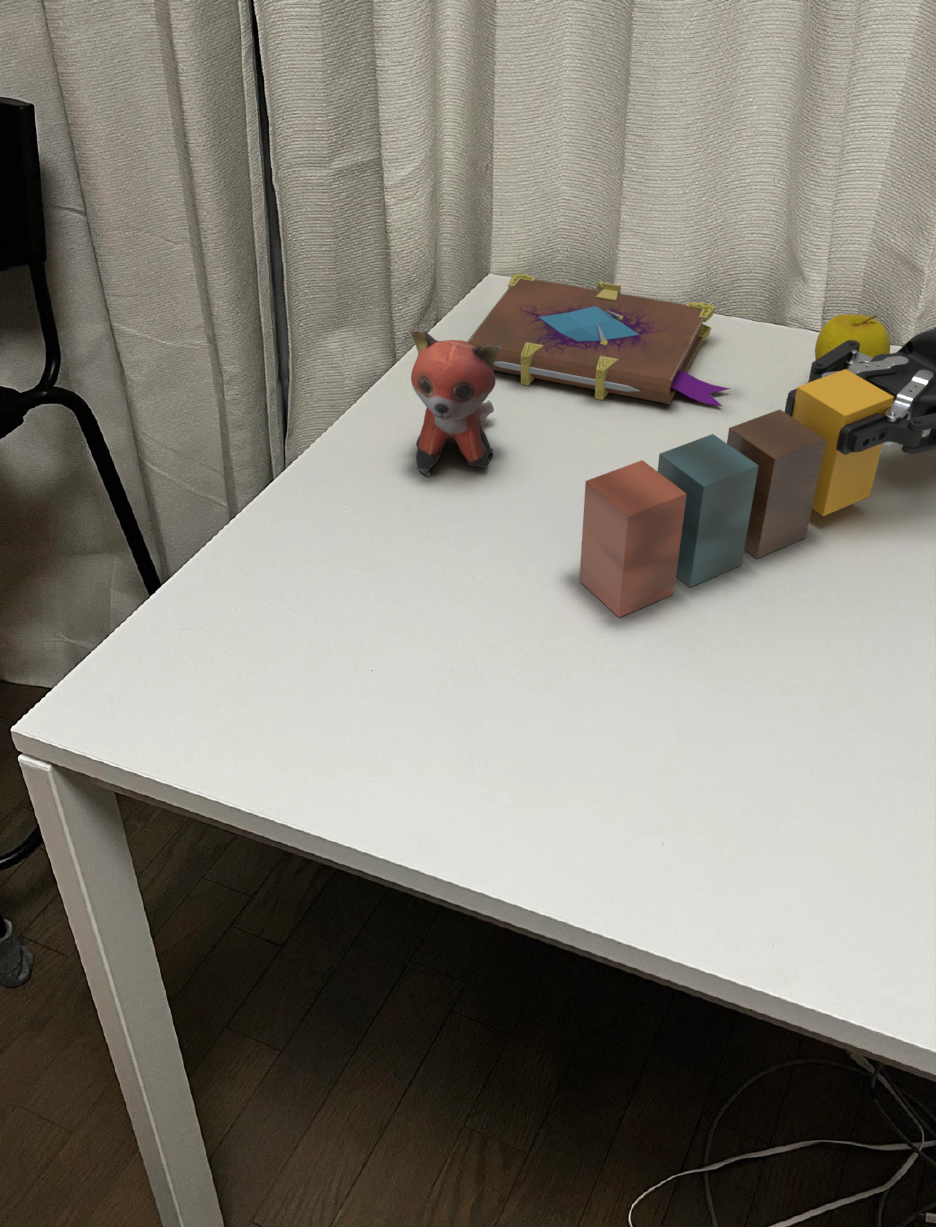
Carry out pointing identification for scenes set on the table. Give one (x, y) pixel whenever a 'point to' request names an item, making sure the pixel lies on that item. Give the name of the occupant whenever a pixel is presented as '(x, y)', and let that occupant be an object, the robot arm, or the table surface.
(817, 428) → the block
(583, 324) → the book
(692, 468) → the three coloured blocks
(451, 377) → the stuffed fox
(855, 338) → the apple
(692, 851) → the table surface
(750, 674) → the table surface
